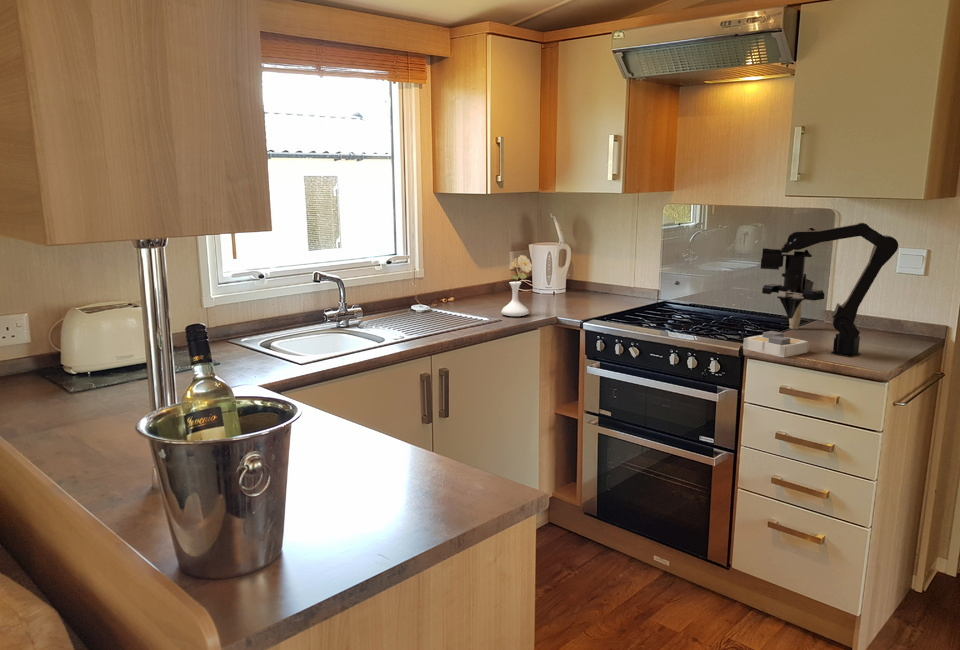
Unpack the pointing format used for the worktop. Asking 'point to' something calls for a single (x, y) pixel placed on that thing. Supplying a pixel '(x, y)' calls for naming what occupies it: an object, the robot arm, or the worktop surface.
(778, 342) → the charcoal key near
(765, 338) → the ochre key
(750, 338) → the keypad
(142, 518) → the worktop surface
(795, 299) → the robot arm
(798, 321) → the handle
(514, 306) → the flower in vase
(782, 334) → the charcoal key far
